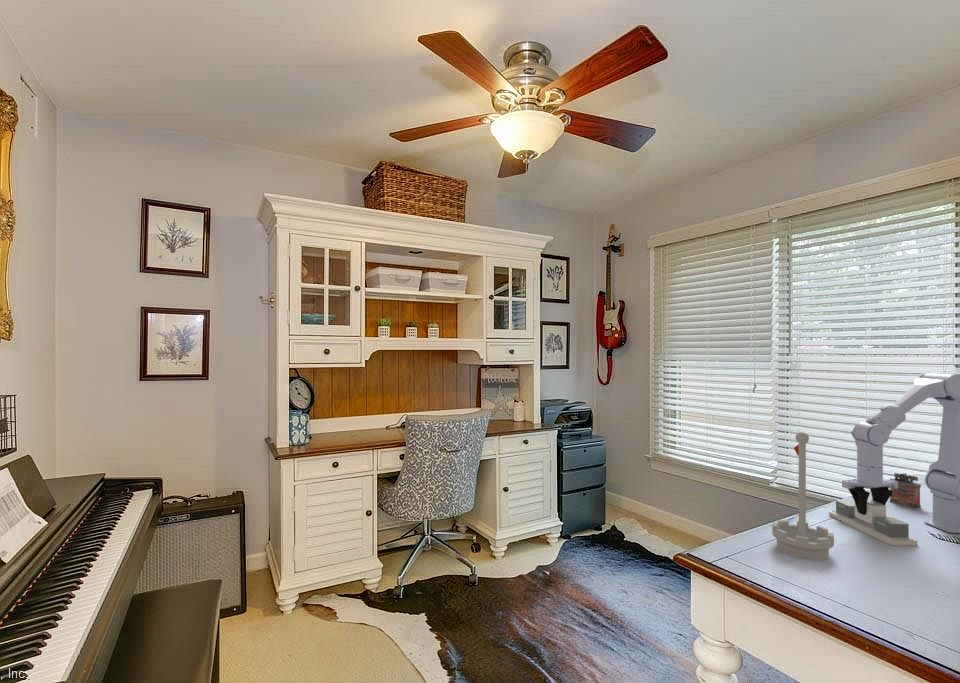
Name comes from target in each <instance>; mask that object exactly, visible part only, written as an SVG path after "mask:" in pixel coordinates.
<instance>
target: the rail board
mask: <svg viewBox="0 0 960 683" xmlns="http://www.w3.org/2000/svg"><path fill="white" fill-rule="evenodd" d="M829 515H831V516H833V517H832V518H834V517H835V518H834V519H836V518H837V519H836V520H838V519H839V520H838V521H840V520H841V521H840V522H842V521H843V522H842V523H844V522H845V523H844V524H846V523H847V524H846V525H848V524H849V525H848V526H850V525H851V526H850V527H852V526H853V527H852V528H854V527H855V528H854V529H856V528H857V529H856V530H858V531H860V532H862V533H865V534H867V535H869V536H870V537H873V538H875V539H877V540H879V541H881V542H883V543H885V544H887V545H889V546H918V540H917V539H914V538H913V537H910V536H909V535H910V534H909V529H910V528H909V525H910V524H909V523H908V522H904V521H903V520H900V519H897V518H895V517H893V516H888V517H887V516H886V517H874V524H870V523H868V522H866V521H864V520H861V519H859V518H857V517H855V501H854V500H852V499H851V500H835V510H832V511H831V510H830V511H828V516H829ZM831 516H830V517H831Z"/></svg>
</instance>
